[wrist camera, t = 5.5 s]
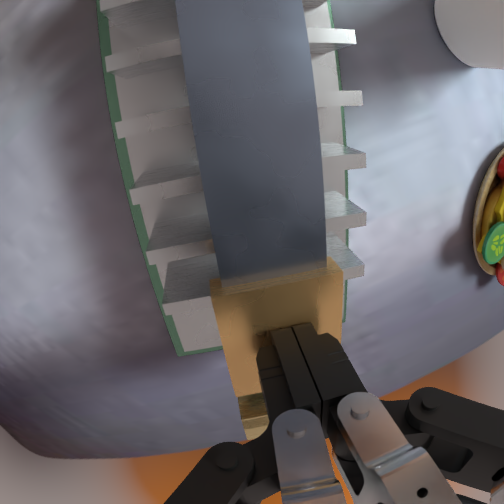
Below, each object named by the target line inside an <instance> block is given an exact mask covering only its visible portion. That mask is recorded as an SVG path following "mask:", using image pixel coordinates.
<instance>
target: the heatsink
mask: <svg viewBox="0 0 504 504" xmlns="http://www.w3.org/2000/svg"><path fill="white" fill-rule="evenodd" d="M96 4H97V18H98V30H99V40H100V50H101V58H102V66H103V74H104V81H105V88H106V94H107V100H108V106H109V112H110V118H111V123H112V129H113V134H114V139H115V144H116V149H117V154H118V159H119V163H120V168H121V172H122V176H123V181H124V185H125V189H126V193H127V197H128V201H129V205H130V209H131V213H132V217H133V221H134V224H135V228H136V232H137V235H138V239H139V242H140V246H141V249H142V253H143V256H144V259H145V263H146V266H147V269H148V272H149V275H150V279H151V282H152V285H153V288H154V291H155V294H156V297H157V300H158V303H159V306H160V309H161V312H162V315H163V318H164V320H165V323H166V326H167V329H168V331H169V334H170V337H171V340H172V342H173V345H174V348H175V350H176V353H177V355H178V357H179V356H185V355H192V354H198V353H204V352H210V351H216V350H221V349H223V346H222V342H221V338H220V334H219V330H218V326H217V321H216V317H215V313H214V309H213V305H212V301H211V293H210V282H209V280H210V279H216V278H220V274H219V270H218V265H217V259H216V254H215V249H214V244H213V239H212V234H211V228H210V223H209V218H208V212H207V207H206V202H205V196H204V190H203V185H202V179H201V173H200V168H199V162H198V156H197V150H196V144H195V138H194V132H193V125H192V119H191V113H190V106H189V100H188V93H187V86H186V80H185V73H184V65H183V58H182V51H181V44H180V36H179V28H178V20H177V12H176V4H175V0H96ZM302 4H303V10H304V16H305V22H306V28H307V34H308V41H309V47H310V54H311V62H312V69H313V77H314V85H315V93H316V102H317V111H318V121H319V131H320V143H321V155H322V168H323V183H324V199H325V220H326V247H327V257H329V256H331V258H332V259H333V260H334V261H335V262H336V263H337V265H338V266H339V267H340V268H341V269H342V271H343V307H342V323H343V322H345V318H346V300H347V280H348V279H352V278H356V277H361V276H364V263H363V262H362V261H361V260H360V259H359V258H358V257H357V256H356V255H355V254H354V253H353V252H352V251H351V250H350V249H349V248H348V229H349V228H355V227H360V226H366V212H365V211H364V210H363V209H361V208H360V207H358V206H357V205H355V204H354V203H353V202H351V201H350V200H348V173H347V170H349V169H359V168H366V153H364V152H361V151H358V150H356V149H353V148H350V147H347V146H346V133H345V119H344V107H343V106H363V99H362V91H342V85H341V76H340V67H339V59H338V51H337V50H339V49H342V48H345V47H348V46H352V45H355V44H356V37H355V30H349V29H334V23H333V17H332V11H331V5H330V0H302ZM238 403H239V409H240V414H241V420H242V423H243V426H244V430H245V433H246V436H247V440H250V439H256V438H257V437H259V436H260V435H261V434H262V433H263V432H264V431H265V430H266V428H267V427H268V424H269V419H268V415H267V411H266V406H265V402H264V398H263V394H262V392H260V393H255V394H250V395H245V396H239V397H238Z"/></svg>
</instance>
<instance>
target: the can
mask: <svg viewBox="0 0 504 504" xmlns="http://www.w3.org/2000/svg"><path fill="white" fill-rule="evenodd" d="M434 16H435V21H436V25H437V28H438V30H439V33H440V35H441V37H442V39H443V41H444V42H445V44H446V45H447V47H448V48H449V49H450V51H451V52H452V53H453V54H454V55H455V56H456V57H457V58H458V59H459V60H460V61H462V62H463V63H465V64H466V65H468V66H471V67H475V68H490V69H504V0H435V3H434Z"/></svg>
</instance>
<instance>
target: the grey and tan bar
mask: <svg viewBox="0 0 504 504" xmlns="http://www.w3.org/2000/svg"><path fill="white" fill-rule="evenodd" d="M175 4H176V12H177V20H178V28H179V36H180V44H181V51H182V58H183V65H184V73H185V80H186V86H187V93H188V100H189V106H190V113H191V119H192V125H193V132H194V138H195V144H196V150H197V156H198V162H199V168H200V173H201V179H202V185H203V190H204V196H205V202H206V207H207V212H208V218H209V223H210V228H211V234H212V239H213V244H214V249H215V254H216V259H217V265H218V270H219V274H220V278H216V279H210V280H209V282H210V293H211V301H212V305H213V309H214V313H215V317H216V321H217V326H218V330H219V334H220V338H221V342H222V346H223V350H224V354H225V357H226V361H227V365H228V369H229V373H230V377H231V380H232V384H233V388H234V391H235V395H236V397H239V396H245V395H250V394H255V393H260V392H262V390H261V385H260V380H259V374H258V368H257V363H256V357H257V353H258V350H259V348H260V347H265V346H270V345H272V340H271V332H270V331H273V330H278V329H282V328H287V327H292V326H296V325H300V324H305V323H309V322H311V323H312V324H313V326H314V328H315V330H316V332H317V334H318V335H319V334H323V333H327V332H328V333H329V334H331V335H332V336H333V337H335V338H336V339H337V340H338V341H339V343H340V344H341V330H342V307H343V271H342V269H341V268H340V267H339V266H338V265H337V263H336V262H335V261H334V260H333V259H332V258H331V256H329V257H327V247H326V220H325V199H324V183H323V168H322V155H321V143H320V131H319V121H318V111H317V102H316V93H315V85H314V77H313V69H312V62H311V54H310V47H309V41H308V34H307V28H306V22H305V16H304V10H303V4H302V0H175Z"/></svg>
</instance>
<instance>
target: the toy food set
mask: <svg viewBox="0 0 504 504" xmlns="http://www.w3.org/2000/svg"><path fill="white" fill-rule="evenodd" d="M473 247H474V252H475V256H476V259H477V261H478V263H479V265H480V267H481V268H482V269H483V270H484V271H485V272H486V273H488V274H490V275H496V277H497V280H498V282H499V283H500V284H501V285H503V286H504V148H503V149H502V150H501V151H500V153H499V154H498V155H497V156H496V158H495V159H494V160H493V162H492V163H491V165H490V167H489V168H488V170H487V172H486V174H485V176H484V179H483V181H482V184H481V186H480V189H479V193H478V196H477V200H476V204H475V210H474V216H473Z"/></svg>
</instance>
